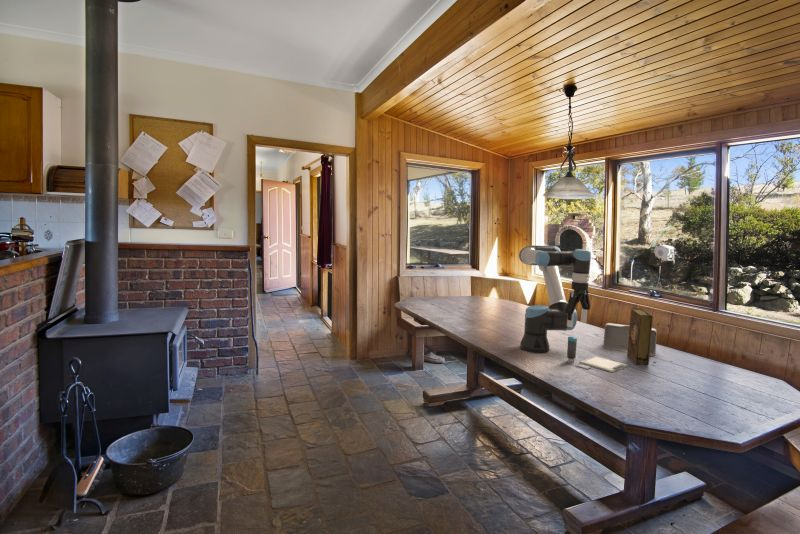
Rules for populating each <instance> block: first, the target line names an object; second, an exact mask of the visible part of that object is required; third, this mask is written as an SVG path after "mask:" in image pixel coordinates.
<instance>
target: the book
mask: <svg viewBox="0 0 800 534" xmlns="http://www.w3.org/2000/svg"><path fill="white" fill-rule="evenodd" d="M653 317H654V315H653V314H651V313H650V312H648V311H646V310H645V309H643V308H634V307H633V308H630V317H629V326H630V328H629V334H628V335H629V340H628V352H627V355H626V356H627V358H629V360H631V362H632V363H634V364H635V365H643V366H649V364H650V356H651V355H650V344H651V332H652V328H653Z"/></svg>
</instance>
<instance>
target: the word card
mask: <svg viewBox="0 0 800 534" xmlns="http://www.w3.org/2000/svg"><path fill="white" fill-rule="evenodd" d="M575 367H578V368H582V369H584V368H585V369H586V370H589V368H590V369H592V368H593V367H591V366H588V365H584V364H581V363H578V364H575Z"/></svg>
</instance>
